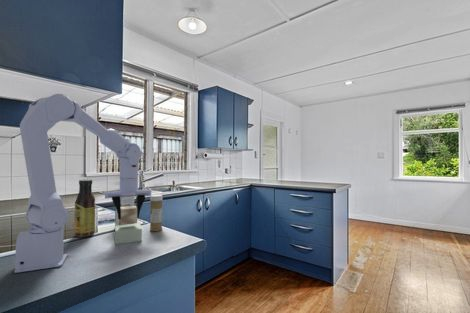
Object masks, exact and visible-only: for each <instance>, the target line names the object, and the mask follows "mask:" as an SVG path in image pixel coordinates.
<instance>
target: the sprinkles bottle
mask: <svg viewBox="0 0 470 313" xmlns="http://www.w3.org/2000/svg"><path fill="white" fill-rule="evenodd" d="M163 197H164V196H163V195H162V194H151V196H149V200H150V211H149V212H150V213H149V217H150V218H149V223H150V225H149V227H150V228H149V231H150V232H160V231H162V230H163V227H162V225H163V200H164V198H163Z"/></svg>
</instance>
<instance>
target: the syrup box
mask: <svg viewBox="0 0 470 313" xmlns="http://www.w3.org/2000/svg"><path fill="white" fill-rule="evenodd" d="M131 195H135V194H131ZM120 200H121V204H120V207H125V206H135V196H133V197H120ZM114 207H115V206H114ZM114 211H115V215H114V216H115V217H114V228H116V225H121V223H120V219H118V213H117V210H116V207H115V209H114ZM133 224H135V223H133ZM124 225H126V224H124Z"/></svg>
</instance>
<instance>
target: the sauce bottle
mask: <svg viewBox="0 0 470 313" xmlns="http://www.w3.org/2000/svg"><path fill="white" fill-rule="evenodd" d="M78 184H79V185H78V186H79V190H78V194H77V197H76V199H75V201H74V224H73V225H74V228H73V230H74V231H73V232H74V236H75V237H76V238H88V237H90V236H93V235H94V234H95V228H96V227H95V226H96V224H95V223H96V196H94V194H93V191H92V185H93V180H92V179H88V178H87V179H86V178H85V179H79V180H78Z"/></svg>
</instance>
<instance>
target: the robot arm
mask: <svg viewBox="0 0 470 313" xmlns="http://www.w3.org/2000/svg"><path fill="white" fill-rule="evenodd" d="M59 122H67V123H68V122H69V123H76V125H79V126H80V127H82V128H84V129H85V130H87V131H89V132H90V133H91V134H94V135H95V136H97V137H98V139H99V143H100V144H101V145H102V146H105V148H107V149H108V150H111V151H112V152H113V153H115V155H116V157H117V158H118V159H119V190H114V191H113V190H112V191H104V199H106V200H107V199H111V200H112V202H113V205H114V207H116V210H117V213H118V219H121V212H120V204H121V200H120V197H133V196H134V197H135V199H136V200H135V202H136V204H135V206H136V207H137V219H139V218H140V213H141V212H140V211H141V209H142V206H143V203H144V202H145V200H146V196H148V197H150V196H151V195H152V189H139V188H138V187H139V184H138V183H139V170H138V169H139V164H140V163H139V162H140V158H141V157H142V154H143V152H142V150H141V147H140V146H139V145H138V144H137V143H133V142H130V139H129V138H126V137H124V136H123V135H122V134H120V131H119V130H118V129H113V128H106V127H105V126H104V125H102V124H101V123H100V122H98V120H96V119H95V118H94V117H93V116H92V115H90V113H88V112H87V111H86V110H84V109H83V107H82V106H80V104H79V103H78V102H76V101H74V100H72V99H71V97H69V96H68V95H66V94H63V93H54V94H52V95H51V96H50V95H49V96H45V97H40V98H38V99H37V100H35V101H34V102H32V103H30V104H29V105H28V110H27V111H26V113H25V114H24V117H23V118H22V119H21V121H20V123H19V131H20V137H21V142H22V143H21V144H22V150H23V155H24V159H25V160H24V161H25V168H26V173H27V179H28V184H29V192H30V196H29V198H28V199H27V204H28V205H27V210H26V213H25V220H26V221H27V222H28V223H29V224H30V227H29V229H28V230H27V231H21V232H19V234H18V236H17V237H16V241H15V266H14V267H15V269H14V273H15V274H16V273H22V272H31V271H32V272H33V271H37V270H43V269H45V270H46V269H50V268H51V269H52V268H59V267H62V266H63V264H64V262H65V260H66V258H67V257H68V253H64V227H65V225H66V223H67V221H68V219H69V212H68V210H67V208H66V207H65V206H64V203H63V200H62V197H61V196H60V195H59V193H58V192H57V188H56V187H57V186H56V180H55V175H54V167H53V161H52V154H51V149H50V148H51V147H50V142H49V136H48V131H49V130H51V129H52V128H53V127H54V126H55V125H56V124H57V123H59ZM131 194H135V195H131Z"/></svg>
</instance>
